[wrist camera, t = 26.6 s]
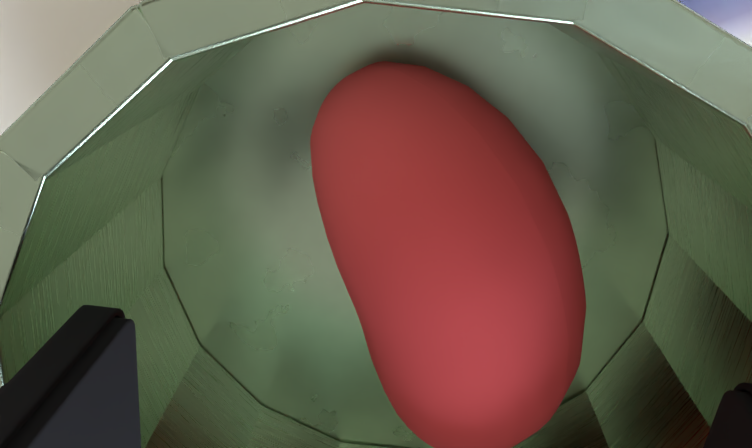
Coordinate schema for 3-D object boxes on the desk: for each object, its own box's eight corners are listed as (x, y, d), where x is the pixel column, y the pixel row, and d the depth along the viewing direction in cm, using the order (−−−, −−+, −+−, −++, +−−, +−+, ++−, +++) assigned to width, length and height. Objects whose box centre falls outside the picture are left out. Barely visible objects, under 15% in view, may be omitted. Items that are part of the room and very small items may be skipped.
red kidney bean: (587, 69, 16) (529, 0, 10) (615, 435, 16) (574, 567, 10) (395, 101, 18) (260, 59, 13) (420, 421, 18) (297, 523, 13)
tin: (127, -86, 14) (-139, -127, 7) (769, -15, 14) (1108, 10, 7) (148, 427, 20) (6, 681, 13) (613, 481, 20) (723, 767, 13)
